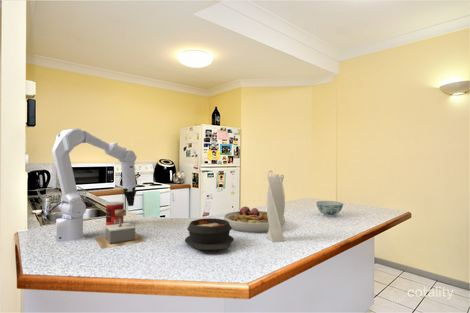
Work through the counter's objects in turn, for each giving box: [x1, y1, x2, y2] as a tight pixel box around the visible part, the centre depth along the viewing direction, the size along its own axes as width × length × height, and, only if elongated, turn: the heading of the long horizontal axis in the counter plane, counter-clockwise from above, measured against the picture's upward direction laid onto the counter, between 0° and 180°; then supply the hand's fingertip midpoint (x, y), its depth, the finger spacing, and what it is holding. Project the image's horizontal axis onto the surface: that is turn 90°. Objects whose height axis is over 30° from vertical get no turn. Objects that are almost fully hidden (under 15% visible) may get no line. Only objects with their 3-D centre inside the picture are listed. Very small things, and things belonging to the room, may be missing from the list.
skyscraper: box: [266, 170, 286, 243], centre depth 109 cm, size 8×8×28 cm
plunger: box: [115, 209, 127, 227], centre depth 105 cm, size 7×7×8 cm
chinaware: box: [315, 200, 344, 218], centre depth 158 cm, size 15×15×8 cm
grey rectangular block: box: [104, 222, 136, 244], centre depth 106 cm, size 10×9×5 cm
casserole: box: [184, 217, 234, 251], centre depth 102 cm, size 25×19×8 cm
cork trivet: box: [94, 231, 147, 250], centre depth 105 cm, size 16×16×1 cm
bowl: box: [223, 206, 286, 234], centre depth 132 cm, size 30×30×8 cm
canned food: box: [105, 201, 125, 226], centre depth 131 cm, size 8×8×11 cm
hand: (130, 204), depth 127 cm, fingers open, 7 cm apart
